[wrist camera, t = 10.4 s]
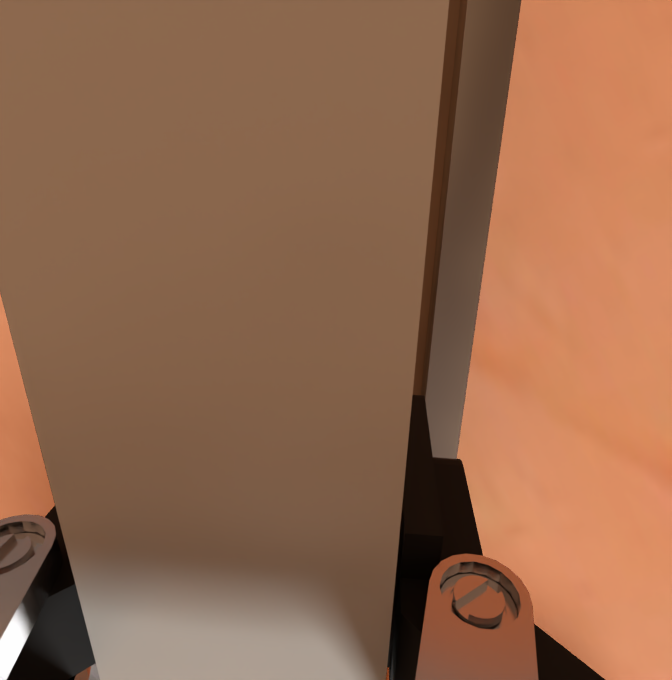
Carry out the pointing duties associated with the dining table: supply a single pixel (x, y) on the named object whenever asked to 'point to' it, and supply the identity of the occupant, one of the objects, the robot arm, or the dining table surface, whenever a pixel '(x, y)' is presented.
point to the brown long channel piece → (461, 205)
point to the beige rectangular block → (222, 315)
